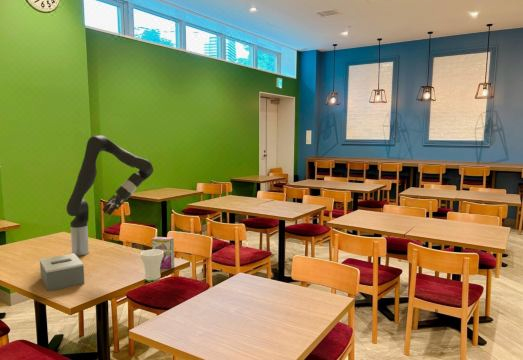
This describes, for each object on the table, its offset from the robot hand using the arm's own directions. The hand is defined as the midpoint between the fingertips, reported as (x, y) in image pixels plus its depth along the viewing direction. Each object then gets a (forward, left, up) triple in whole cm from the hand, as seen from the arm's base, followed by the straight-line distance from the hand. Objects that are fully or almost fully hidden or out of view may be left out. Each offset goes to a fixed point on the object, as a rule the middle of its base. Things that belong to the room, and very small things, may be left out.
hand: (105, 212), depth 207 cm
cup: (+33, +7, -31) cm, 46 cm away
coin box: (+2, -25, -31) cm, 39 cm away
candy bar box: (+21, +21, -31) cm, 43 cm away
